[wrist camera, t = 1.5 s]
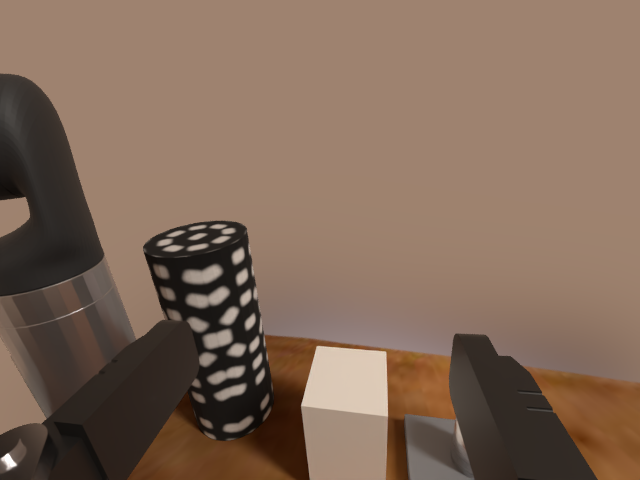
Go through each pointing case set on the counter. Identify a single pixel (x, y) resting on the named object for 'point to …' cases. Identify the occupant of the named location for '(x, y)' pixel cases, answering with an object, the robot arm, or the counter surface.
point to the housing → (346, 415)
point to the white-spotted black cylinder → (216, 322)
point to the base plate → (435, 449)
